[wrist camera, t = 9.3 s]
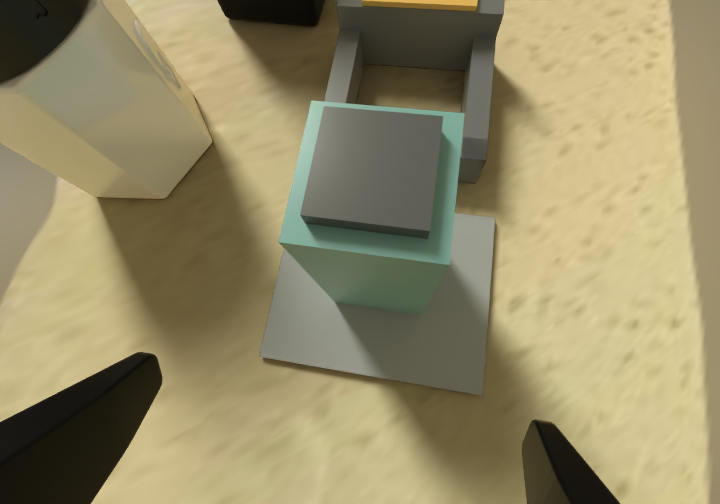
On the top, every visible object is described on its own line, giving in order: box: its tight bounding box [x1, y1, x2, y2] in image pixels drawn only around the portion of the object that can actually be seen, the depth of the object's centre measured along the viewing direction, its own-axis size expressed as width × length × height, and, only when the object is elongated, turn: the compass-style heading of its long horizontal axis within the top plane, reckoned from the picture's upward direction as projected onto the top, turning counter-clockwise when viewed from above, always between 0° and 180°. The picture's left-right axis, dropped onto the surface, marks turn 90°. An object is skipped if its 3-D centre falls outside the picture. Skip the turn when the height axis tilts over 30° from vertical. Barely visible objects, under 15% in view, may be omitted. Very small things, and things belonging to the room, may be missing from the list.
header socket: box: [324, 0, 505, 183], centre depth 21 cm, size 9×9×4 cm
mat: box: [259, 213, 495, 396], centre depth 20 cm, size 9×11×1 cm
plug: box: [279, 101, 465, 315], centre depth 15 cm, size 4×4×11 cm
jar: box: [0, 0, 212, 199], centre depth 18 cm, size 9×8×12 cm
